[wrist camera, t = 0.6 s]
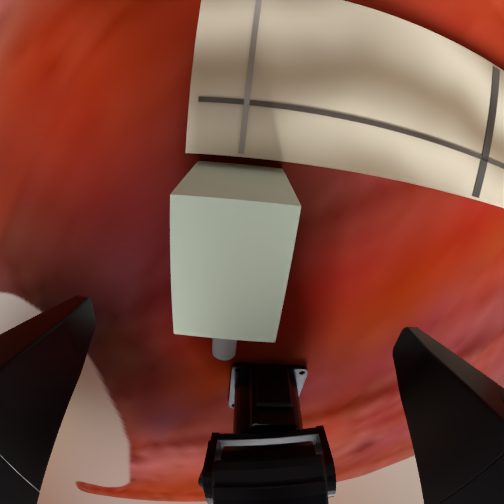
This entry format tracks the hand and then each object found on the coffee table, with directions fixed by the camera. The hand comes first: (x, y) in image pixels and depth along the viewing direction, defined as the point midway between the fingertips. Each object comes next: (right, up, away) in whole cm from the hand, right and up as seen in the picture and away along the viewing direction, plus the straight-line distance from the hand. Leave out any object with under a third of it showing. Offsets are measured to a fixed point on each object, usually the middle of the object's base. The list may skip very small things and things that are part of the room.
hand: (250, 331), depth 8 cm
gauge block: (-1, +3, +12) cm, 12 cm away
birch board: (+10, +11, +8) cm, 17 cm away
